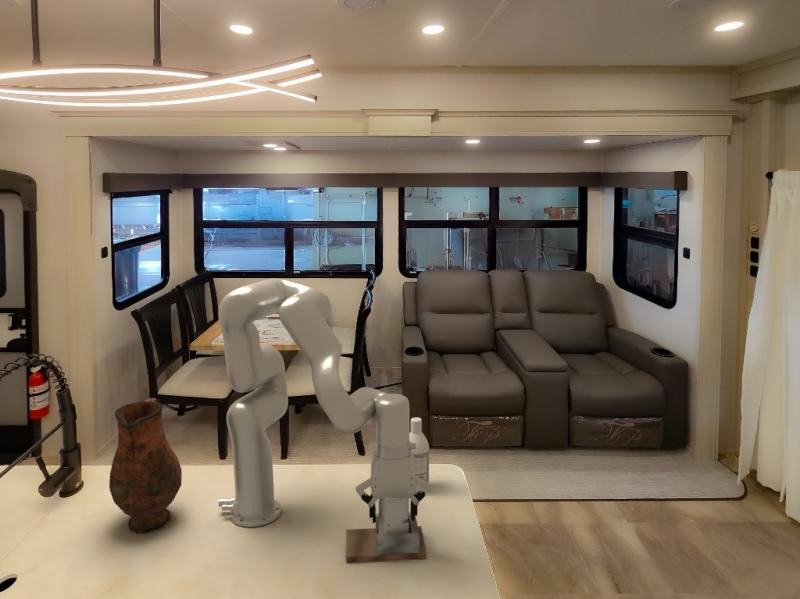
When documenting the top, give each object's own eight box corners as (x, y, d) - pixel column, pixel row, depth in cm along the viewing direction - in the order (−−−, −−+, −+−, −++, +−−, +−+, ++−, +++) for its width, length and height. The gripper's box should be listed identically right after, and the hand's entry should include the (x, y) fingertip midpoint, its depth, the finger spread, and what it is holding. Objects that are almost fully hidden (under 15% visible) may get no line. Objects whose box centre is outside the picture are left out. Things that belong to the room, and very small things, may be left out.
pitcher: (102, 542, 151) (89, 423, 145) (133, 496, 172) (122, 390, 166) (174, 539, 152) (163, 421, 146) (196, 494, 173) (188, 389, 167)
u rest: (346, 563, 143) (345, 540, 142) (346, 535, 154) (345, 514, 153) (426, 558, 144) (426, 536, 143) (421, 531, 155) (421, 510, 154)
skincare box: (385, 548, 146) (384, 499, 143) (378, 538, 150) (377, 490, 147) (410, 542, 148) (409, 494, 146) (402, 532, 152) (401, 485, 150)
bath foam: (434, 488, 176) (434, 419, 171) (414, 496, 171) (414, 426, 167) (417, 479, 181) (417, 412, 177) (398, 486, 177) (398, 418, 172)
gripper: (429, 440, 148) (428, 508, 152) (353, 443, 147) (355, 512, 151) (433, 454, 141) (432, 526, 145) (354, 457, 140) (355, 529, 143)
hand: (393, 518), depth 148 cm, fingers open, 8 cm apart
